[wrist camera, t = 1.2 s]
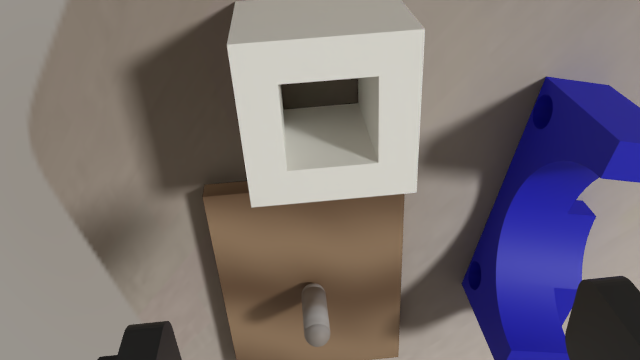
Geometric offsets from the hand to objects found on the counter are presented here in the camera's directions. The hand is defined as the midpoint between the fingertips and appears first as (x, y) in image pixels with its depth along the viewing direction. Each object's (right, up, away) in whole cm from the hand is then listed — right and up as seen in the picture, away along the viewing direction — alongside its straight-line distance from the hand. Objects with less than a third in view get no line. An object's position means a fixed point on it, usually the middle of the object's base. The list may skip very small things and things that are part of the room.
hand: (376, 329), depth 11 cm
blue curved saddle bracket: (+10, +2, +16) cm, 19 cm away
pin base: (-2, -2, +17) cm, 17 cm away
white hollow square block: (-1, +7, +11) cm, 14 cm away
